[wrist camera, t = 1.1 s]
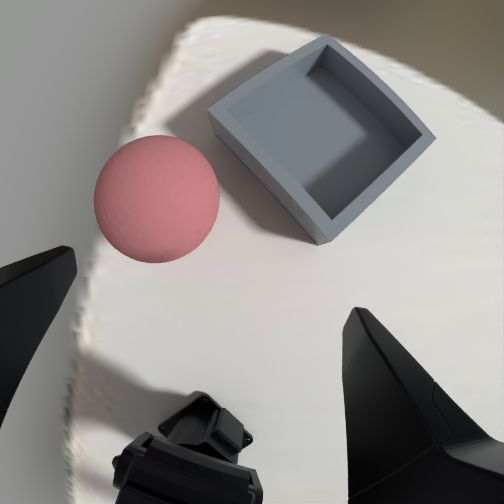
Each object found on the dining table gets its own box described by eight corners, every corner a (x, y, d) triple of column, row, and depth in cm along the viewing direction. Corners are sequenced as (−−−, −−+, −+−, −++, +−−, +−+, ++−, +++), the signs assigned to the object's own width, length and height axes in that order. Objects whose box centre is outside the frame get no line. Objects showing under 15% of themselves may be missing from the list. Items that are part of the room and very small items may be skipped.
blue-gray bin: (318, 245, 24) (331, 241, 20) (215, 133, 25) (207, 109, 20) (413, 155, 24) (436, 138, 20) (318, 61, 25) (326, 33, 20)
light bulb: (233, 262, 24) (208, 261, 12) (149, 263, 24) (66, 263, 12) (232, 176, 25) (210, 105, 13) (151, 181, 25) (78, 125, 13)
